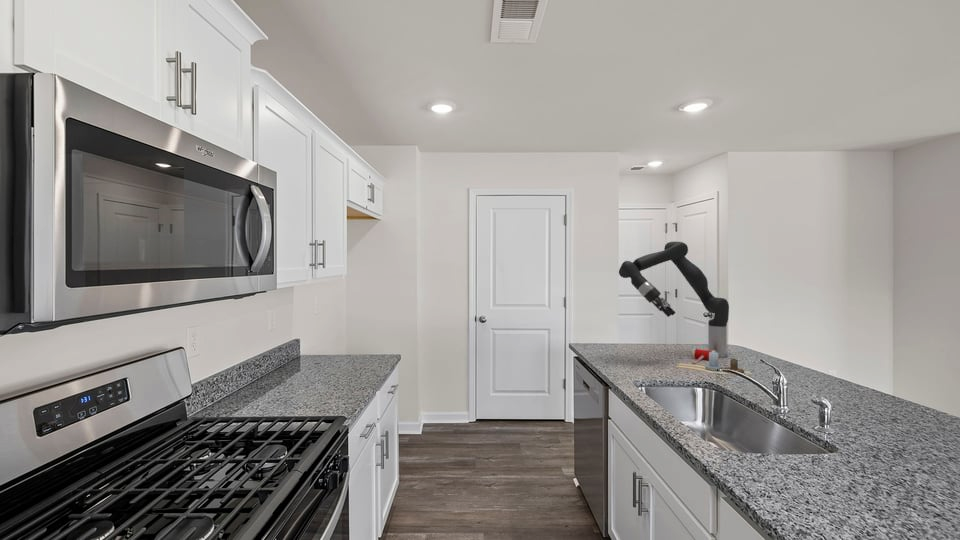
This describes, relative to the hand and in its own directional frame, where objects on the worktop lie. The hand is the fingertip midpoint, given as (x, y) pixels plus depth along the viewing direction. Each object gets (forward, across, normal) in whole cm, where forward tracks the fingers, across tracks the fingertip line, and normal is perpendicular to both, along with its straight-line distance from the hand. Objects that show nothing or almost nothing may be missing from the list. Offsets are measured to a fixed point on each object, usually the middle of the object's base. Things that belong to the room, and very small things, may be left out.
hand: (672, 314), depth 224 cm
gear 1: (+31, 0, +4) cm, 32 cm away
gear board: (+32, 0, +6) cm, 32 cm away
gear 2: (+38, 0, -2) cm, 38 cm away
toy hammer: (+27, +20, +12) cm, 35 cm away
